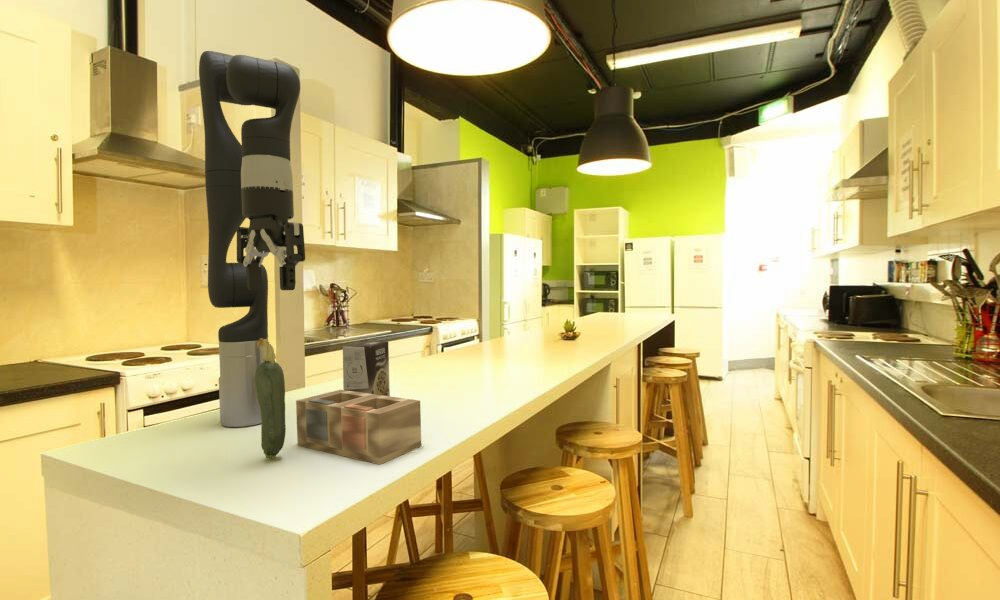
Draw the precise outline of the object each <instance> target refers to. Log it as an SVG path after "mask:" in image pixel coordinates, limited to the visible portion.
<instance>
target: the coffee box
mask: <svg viewBox="0 0 1000 600" xmlns="http://www.w3.org/2000/svg"><path fill="white" fill-rule="evenodd" d="M389 349H390V348H389V341H388V340H386V341H385V340H383V341H382V340H381V341H380V340H379V341H378V340H377V341H376V340H374V341H359V342H355V343H352V344H347V345H344V346H343V345H342V369H343V370H342V372H343V373H342V376H343V377H342V379H343V380H342V381H343V383H342V385H343V390H347V391H354V392H362V393H369V394H376V395H383V396H391V395H390V393H391V392H390V389H391V388H390V360H389V359H390V357H389V356H390V355H389V354H390V353H389V351H390V350H389Z"/></svg>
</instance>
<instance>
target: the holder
mask: <svg viewBox="0 0 1000 600" xmlns="http://www.w3.org/2000/svg"><path fill="white" fill-rule="evenodd" d="M295 405H296V408H295V409H296V410H295V411H296V435H297V436H296V437H297V438H296V439H297V446H300V447H305V448H309V449H313V450H316V451H321V452H325V453H330V454H334V455H337V456H343V457H346V458H347V457H348V458H350V459H355V460H359V461H363V462H368V463H373V464H375V465H382V464H384V463H387V462H389V461H391V460H393V459H396V458H398V457H401V456H402V455H404V454H406V453H409V452H411V451H413V450H416V449H418V448H420V447H422V423H421V422H422V419H421V416H422V415H421V400H419V399H418V400H417V399H413V398H412V399H410V398H405V397H396V396H391V395H390V396H383V395H376V394H369V393H362V392H354V391H347V390H344V389H337V390H333V391H329V392H324V393H320V394H317V395H313V396H309V397H305V398H301V399H296V400H295Z"/></svg>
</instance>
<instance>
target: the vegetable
mask: <svg viewBox="0 0 1000 600" xmlns="http://www.w3.org/2000/svg"><path fill="white" fill-rule="evenodd" d="M260 344H261V345H262V346H263V347H262V356H263V359H262V360H264V361H265V362H263V363H261V364H260V365H259V366H258V368H257V370H256V373H255V389H256V394H257V399H258V403H259V406H260V410H261V419H262V423H261V424H260V425H261V427H260V428H261V430H260V431H261V432H260V433H261V435H260V436H261V444H260V445H261V449H262V451H263V454H264V456H265V459H268V460H273V459H275V458H276V456H277V455H278V454H279V453H280V452H281V451H282V450H283V447H284V444H285V439H286V429H287V428H286V386H285V385H286V384H285V375H284V370H283V368H282V367H281V365H280V364H279V363H278V362H277V361H276V358H277V357H276V353H275V350H274V347H273V345H272V344H270V341H269V340H268V341H266V340H265V339H262V338H260V339H259V341H258V343H257V345H258V348H259V347H260V346H261V345H260Z"/></svg>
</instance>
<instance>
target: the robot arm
mask: <svg viewBox="0 0 1000 600" xmlns="http://www.w3.org/2000/svg"><path fill="white" fill-rule="evenodd" d="M198 62H199V63H198V64H199V65H198V77H199V79H198V80H199V87H200V88H199V89H200V98H201V107H202V116H203V118H202V120H203V128H204V180H205V182H204V183H205V196H206V207H207V209H206V211H207V221H208V222H207V223H208V249H207V250H208V251H207V252H208V253H207V254H208V257H207V258H208V261H207V263H208V264H207V293H208V298H209V302H210V303H211V305H212V306H213V307H214V308H217V309H218V308H219V309H222V308H223V309H226V308H227V309H229V308H249V310H248V312H247V313H246V314H245V315H244V316H243V317H241V318H240V319H237V320H235V321H233V322H231V323H228V324H225V325H222V326H220V327H219V329H218V331H217V332H218V334H217V335H218V337H217V338H218V355H219V356H218V358H219V375H220V376H219V377H218V390H219V391H218V393H219V395H218V396H219V397H218V398H219V414H220V415H219V416H220V417H219V418H220V419H219V421H220V423H221V425H222V426H224V427H228V428H242V427H250V426H255V425H258V424H259V425H261V424H262V419H261V410H260V406H259V403H258V399H257V394H256V389H255V373H256V370H257V368H258V366H259V365H260V364H261V363H263V362H265V361H264V360H262V359H263V356H262V347H263V346H262V345H261V344H260V345H261V346H260V347H259V348H258V345H257V343H258V341H259V339H260V338H262V339H265V340H266V341H269V332H268V331H269V328H268V327H269V325H268V324H269V323H268V322H269V321H268V319H269V318H268V317H269V315H268V313H269V312H268V303H269V302H268V301H269V300H268V299H269V297H268V296H269V276H268V271H267V269H266V267H265V265H263V264H262V263H263V262H264V261H263V260H264V258H266V257H268V255H269V254H270V253H271V254H272V255H273V256H275V257H276V259H277V261H278V263H279V265H280V266H279V267H278V269H279V289H280V290H281V291H294V290H295V289H296V282H297V281H296V266H298V264H299V263H301V262H305V260H306V249H305V235H304V232H305V231H304V225H303V223H301V222H300V223H299V222H292V221H291V222H290V221H289V220H292V219H293V218H295V213H294V208H295V207H294V183H293V181H294V179H293V170H292V163H291V130H292V123H293V119H294V114H295V110H296V106H297V104H298V100H299V96H300V93H301V81H300V78H299V75H298V73H297V72H296V70H295V69H294V68H293V67H292V66H291V65H289V64H287V63H283V62H282V63H281V62H279V61H278V62H277V61H274V60H273V61H272V60H267V59H264V58H260V57H254V56H250V55H246V54H236V55H231V54H227V53H222V52H218V51H215V50H214V51H212V50H205V51H203V52H202V53H201V54H200V57H199V61H198ZM221 102H222V103H227V104H233V105H239V106H256V107H262V108H263V107H264V108H269V109H273V110H275V111H274V113H275V114H274V115H272V116H270V117H258V118H257V117H256V118H249V119H247V120H245V121H244V122H243V123H242V124H241V129H240V132H241V133H240V135H241V139H240V140H241V141H239V140H238V139H237V137H236V135H235V134H234V132H233V131H232V129H231V127H230V126H229V123H228V121H227V120H226V116H225V115H224V111H223V108H222V105H221V104H222V103H221ZM240 142H241V143H240ZM246 219H248V220H249V226H248V227H247V226H242V224H243V223H244V222H245V220H246ZM235 235H236V262H227V257H228V251H229V249H230V246H231V243H232V240H233V238H234V237H235ZM294 246H295V247H296V251H297V253H295V248H294ZM244 251H245V252H246V255H244Z"/></svg>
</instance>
